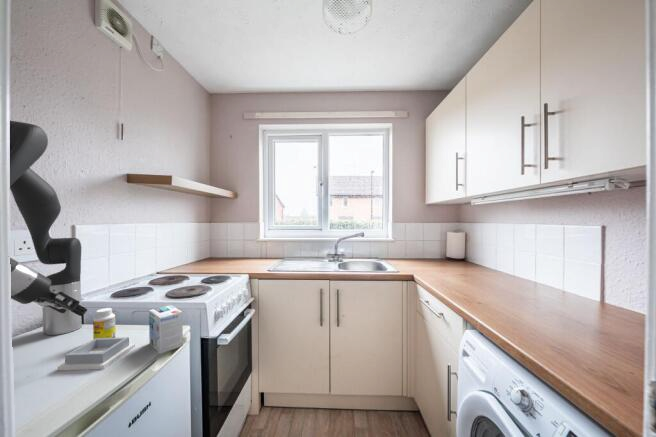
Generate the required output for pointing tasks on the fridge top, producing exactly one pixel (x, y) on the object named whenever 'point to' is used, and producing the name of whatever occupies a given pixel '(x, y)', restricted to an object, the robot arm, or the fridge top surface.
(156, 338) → the light bulb box
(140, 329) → the fridge top surface
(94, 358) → the grey tray
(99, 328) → the supplement bottle
